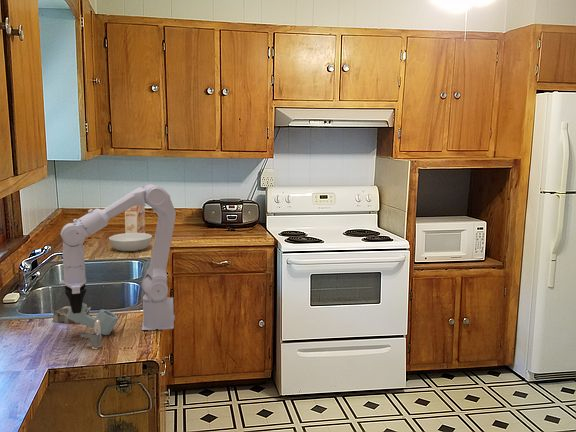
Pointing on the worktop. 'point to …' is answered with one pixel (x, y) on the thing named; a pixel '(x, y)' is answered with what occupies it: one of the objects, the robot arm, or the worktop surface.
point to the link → (105, 316)
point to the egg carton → (61, 315)
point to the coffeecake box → (135, 219)
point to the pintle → (97, 326)
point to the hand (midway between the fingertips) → (76, 310)
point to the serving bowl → (130, 241)
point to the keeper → (92, 338)
